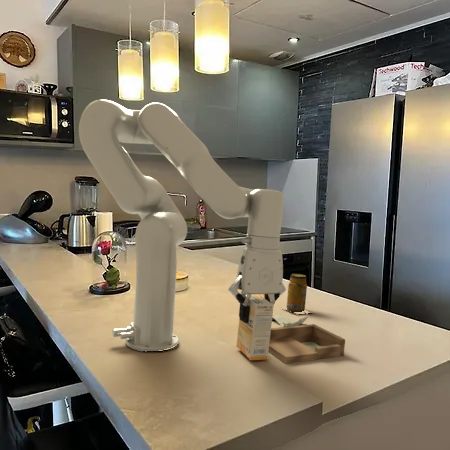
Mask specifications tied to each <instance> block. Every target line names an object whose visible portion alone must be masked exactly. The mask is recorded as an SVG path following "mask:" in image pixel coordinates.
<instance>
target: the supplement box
mask: <svg viewBox="0 0 450 450" xmlns="http://www.w3.org/2000/svg"><path fill="white" fill-rule="evenodd" d="M274 305H275V304H272V303H270V302H269V301H268V300H266V299H264V296H263V297H262V296H261V294H252V295H251V298H250V301H249V303H248V306H250V313H249V322H248V323H244V322H243V321H241V320H240V318H238V319H239V320H238V330H237V338H236V339H237V340H236V347H237V348H238V349H239V351H241V353H243V354H244V355H245V356H246V358H247V359H248V358H249V359H251V360H250V361H259V360H260V361H261V360H264V361H265V360H268V359H269V358H268V357H269V352H268V350H269V341H270V333H271V328H272V321H273V320H272V317H273V316H274V315H273V313H274ZM249 359H248V360H249Z"/></svg>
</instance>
